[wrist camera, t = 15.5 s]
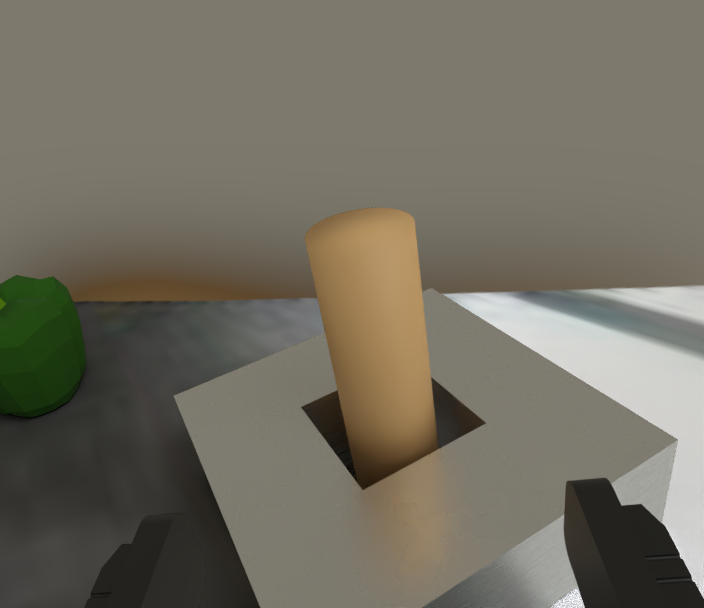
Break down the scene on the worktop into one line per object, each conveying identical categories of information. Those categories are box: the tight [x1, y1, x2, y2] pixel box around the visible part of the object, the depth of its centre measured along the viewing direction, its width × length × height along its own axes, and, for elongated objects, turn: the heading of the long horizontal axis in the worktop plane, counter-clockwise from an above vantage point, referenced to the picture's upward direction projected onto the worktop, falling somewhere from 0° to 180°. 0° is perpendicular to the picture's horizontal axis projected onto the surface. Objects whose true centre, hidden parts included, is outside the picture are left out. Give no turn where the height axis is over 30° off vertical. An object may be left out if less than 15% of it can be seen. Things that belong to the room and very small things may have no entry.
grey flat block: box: [174, 288, 678, 608], centre depth 26 cm, size 16×16×5 cm
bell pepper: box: [0, 275, 86, 417], centre depth 37 cm, size 8×8×10 cm
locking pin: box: [305, 208, 439, 490], centre depth 23 cm, size 4×4×14 cm
